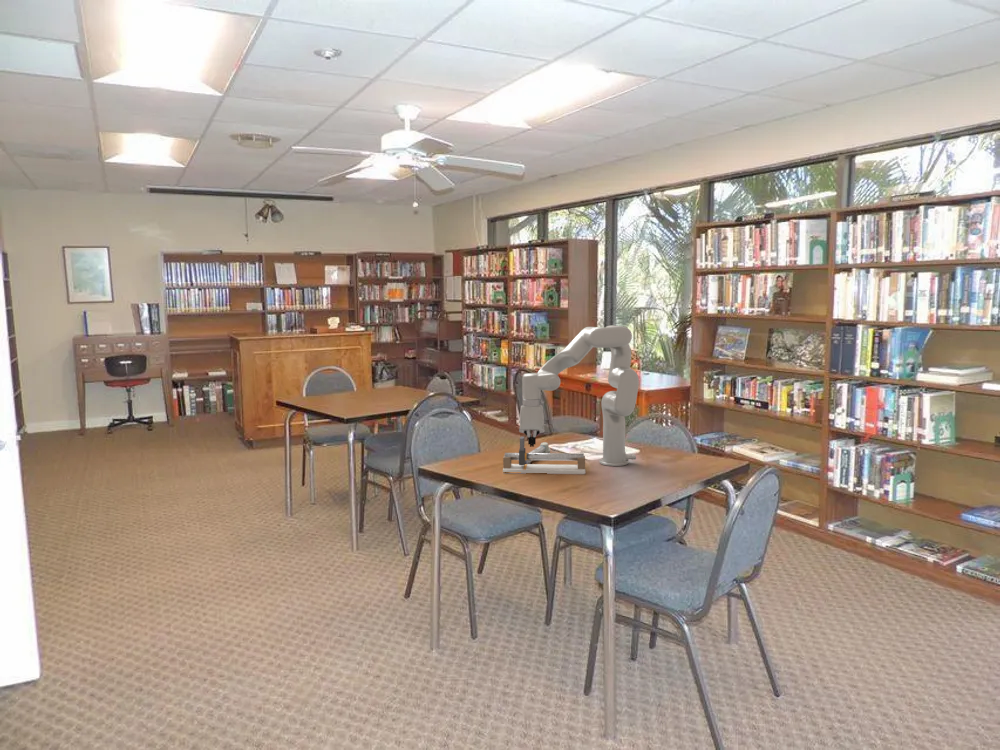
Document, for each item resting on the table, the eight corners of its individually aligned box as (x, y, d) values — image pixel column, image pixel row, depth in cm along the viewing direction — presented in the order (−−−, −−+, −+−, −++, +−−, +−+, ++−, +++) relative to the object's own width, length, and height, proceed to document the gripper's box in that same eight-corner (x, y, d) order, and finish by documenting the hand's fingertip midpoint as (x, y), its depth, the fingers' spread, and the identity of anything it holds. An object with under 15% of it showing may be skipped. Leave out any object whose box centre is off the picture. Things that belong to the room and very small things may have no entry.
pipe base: (584, 468, 298) (584, 454, 298) (585, 474, 288) (585, 459, 288) (504, 467, 301) (504, 453, 301) (502, 473, 291) (502, 459, 291)
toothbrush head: (516, 457, 305) (541, 438, 326) (518, 471, 306) (542, 452, 327) (527, 458, 302) (552, 439, 323) (528, 472, 304) (552, 453, 325)
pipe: (583, 459, 294) (583, 452, 294) (583, 461, 291) (583, 454, 291) (505, 459, 297) (505, 451, 297) (504, 460, 294) (504, 453, 294)
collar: (525, 461, 298) (525, 436, 297) (524, 465, 292) (524, 439, 291) (519, 461, 298) (519, 436, 297) (519, 465, 293) (518, 439, 291)
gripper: (549, 401, 295) (550, 444, 297) (514, 401, 297) (514, 444, 299) (549, 404, 288) (549, 448, 290) (513, 404, 289) (513, 448, 291)
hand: (531, 446), depth 294 cm, fingers closed
